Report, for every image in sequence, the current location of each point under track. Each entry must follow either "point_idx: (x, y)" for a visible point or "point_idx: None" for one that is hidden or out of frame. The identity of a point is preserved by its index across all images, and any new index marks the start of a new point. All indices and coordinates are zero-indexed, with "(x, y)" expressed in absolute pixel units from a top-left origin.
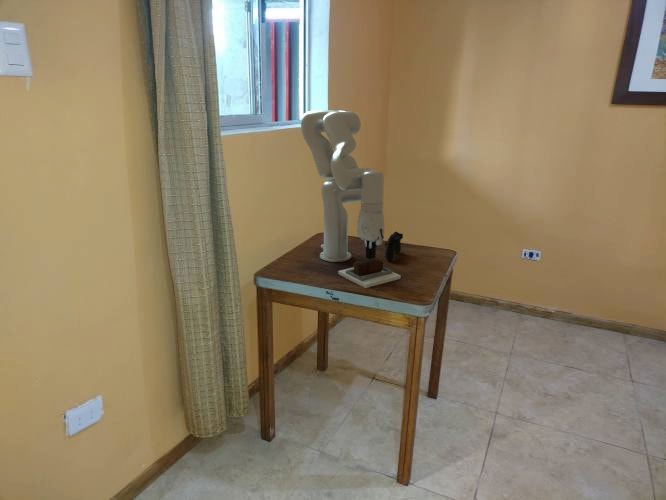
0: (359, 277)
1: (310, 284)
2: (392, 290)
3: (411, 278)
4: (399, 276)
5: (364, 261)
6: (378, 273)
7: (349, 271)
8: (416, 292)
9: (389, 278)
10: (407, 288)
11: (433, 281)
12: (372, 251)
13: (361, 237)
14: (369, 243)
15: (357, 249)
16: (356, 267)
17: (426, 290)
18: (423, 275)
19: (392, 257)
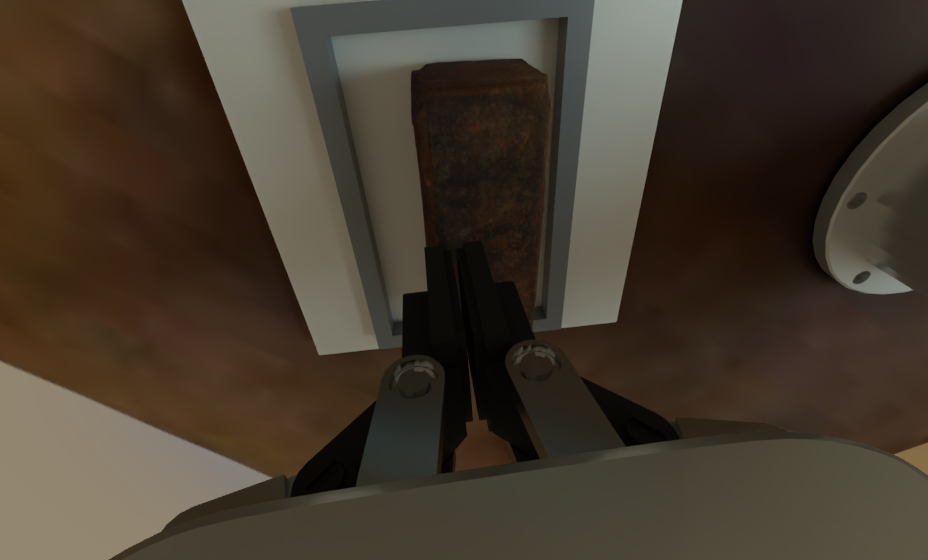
0: (329, 4)
1: None
2: (101, 186)
3: (305, 384)
4: (318, 344)
5: (487, 207)
6: (364, 241)
7: (548, 11)
8: (47, 306)
9: (287, 273)
10: (134, 295)
11: (227, 441)
12: (405, 349)
13: (671, 460)
14: (432, 431)
15: (864, 364)
16: (482, 73)
17: (84, 365)
18: (326, 441)
19: None
